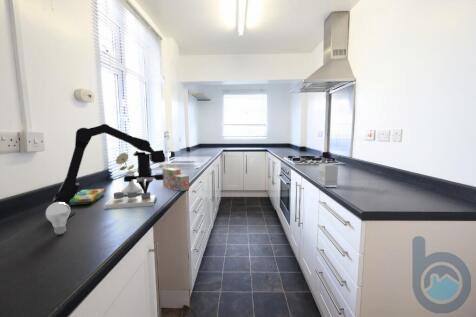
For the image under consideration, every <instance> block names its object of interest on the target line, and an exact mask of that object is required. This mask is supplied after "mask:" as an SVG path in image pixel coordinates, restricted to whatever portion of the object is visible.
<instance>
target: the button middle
mask: <svg viewBox="0 0 476 317" xmlns="http://www.w3.org/2000/svg"><path fill="white" fill-rule="evenodd" d="M137 196H138V194H137V191H130V192H128V195H127V197H128V198H135V197H137Z"/></svg>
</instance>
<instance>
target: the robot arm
mask: <svg viewBox="0 0 476 317" xmlns="http://www.w3.org/2000/svg"><path fill="white" fill-rule="evenodd" d="M101 134H106V135H109V136H111V137H113V138H116V139H118V140H121V141H122V142H125V143H128V144H129V145H131V146H132V147H134V148H135V149H137V150H135V152H134V153H133V154H132V156H134V157H137V174H138V175H135V173H134V174H126V175H124V177H123V182H124V183H127V182H128V183H129V182H131V181H132V180H133V181H134V180H136V183H137V184H139V185H138V186H139V187H140V188H141V189H142V192H143V193H145V194H146V193H147V192H148V190H149V186H150V183H152V182H153V180H154V179H155V181H163V179H164V174H163V172H156V173H155V174H153V172H152V170H153V169H152V168H151V163H153V164H161V163H165V162H166V156H165V152H164V150H163V149H158V150H154V149H153V148H152V146H151V144H150V141H149V140H147V139H143V138H139V137H135V136H132V135H130V134H128V133H125V132H123V131H121V130H119V129H117V128H114V127H111V126H110V125H109V124H106V123H102V124H100V125H97V126H94V127H89V128H88V127H80V128H78V129H76V131H75V140H74V142H75V143H74V150H73V153H72V155H71V160H70V162H69V166H68V170H67V173H66V176H65V178H64V180H63V182H62V183H61V185H60V187H59V190H58V193H57V194H55V195H54V197H53V199H52V204H53V203H55V202H64V203H66V204H68V205H69V207H70V210H71V212H70V215H69V217H68V218H67V220H68V219H69V218H71V217H73V216H74V215H75V214H76V212H72V204H70V200H71V199H72V198H74V196H75V194H76V195H77V193H78V190H79V188H80V182H77V177H78V174H79V171H80V168H81V163H82V161H83V157H84V154H85V151H86V148H87V146H88V145H89V143H90V141H91V139H92V137H95V136H99V135H101ZM138 150H139V151H140V152H139V151H138Z"/></svg>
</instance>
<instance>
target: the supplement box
mask: <svg viewBox="0 0 476 317" xmlns="http://www.w3.org/2000/svg"><path fill="white" fill-rule="evenodd" d="M338 169H339V165H338V164H335V163H318V183H320V184H322V185H337V186H338V171H339V170H338Z"/></svg>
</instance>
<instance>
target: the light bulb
mask: <svg viewBox="0 0 476 317" xmlns="http://www.w3.org/2000/svg"><path fill="white" fill-rule="evenodd" d="M70 212H71V213H72V209H71V210H70V207H69V205H68V204H66V203H64V202H55V203H52V204H50V205H48V207H46V210H45V217H46V219H47V220H48V221H49V222H51V224H52V228H53V231H54V233H55V234H56V235H58V236H61V235H63V234H64V233H65V232H66V231H67V228H66V227H67V226H66V224H67V220H68V219H69V218H68V217H69V215H70ZM67 218H68V219H67Z"/></svg>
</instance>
